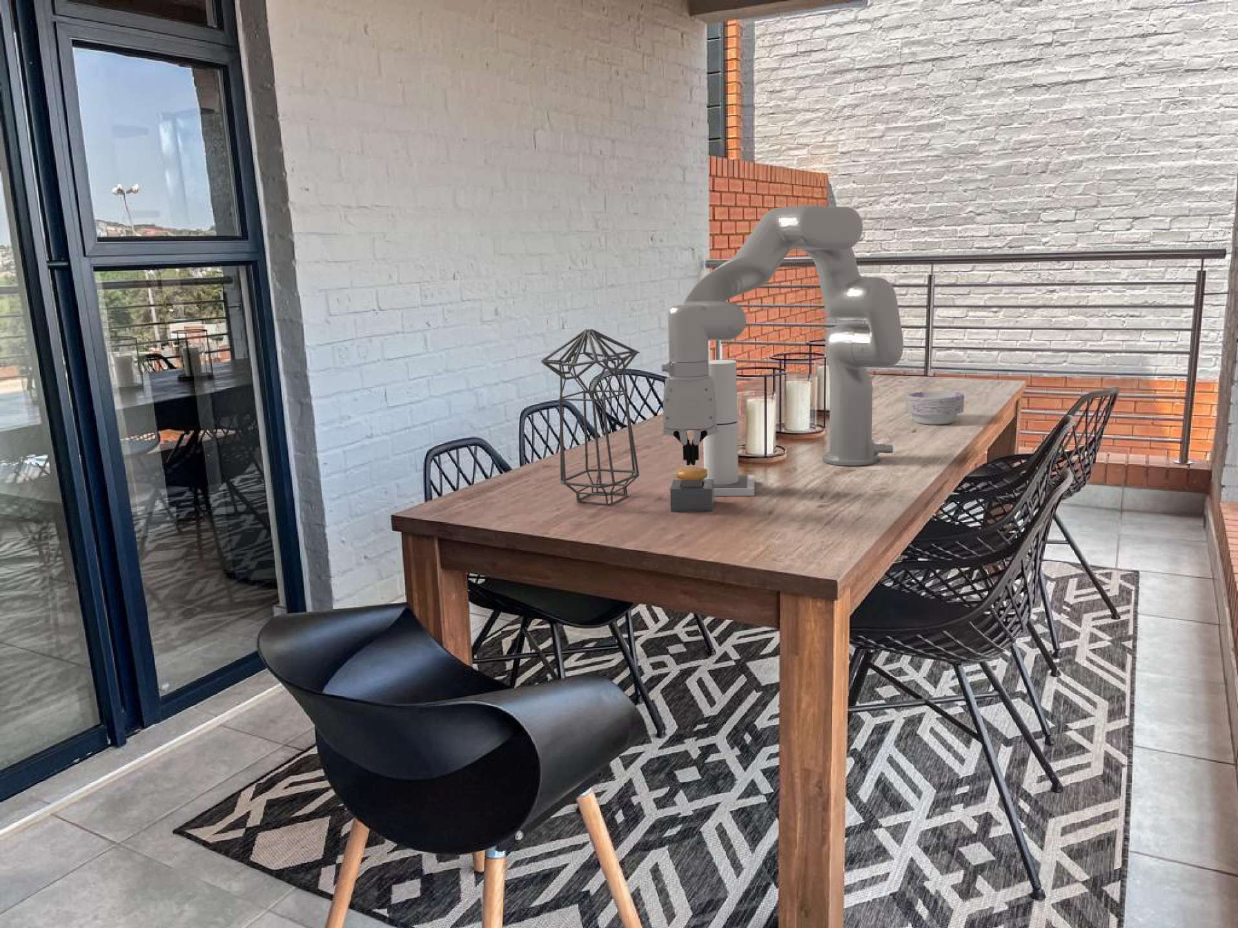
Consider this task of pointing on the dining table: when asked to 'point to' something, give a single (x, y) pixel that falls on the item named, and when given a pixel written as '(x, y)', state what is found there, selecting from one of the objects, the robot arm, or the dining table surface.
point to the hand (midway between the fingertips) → (691, 463)
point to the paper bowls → (934, 406)
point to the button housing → (692, 497)
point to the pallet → (737, 487)
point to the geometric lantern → (579, 344)
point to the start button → (692, 476)
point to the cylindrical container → (723, 426)
